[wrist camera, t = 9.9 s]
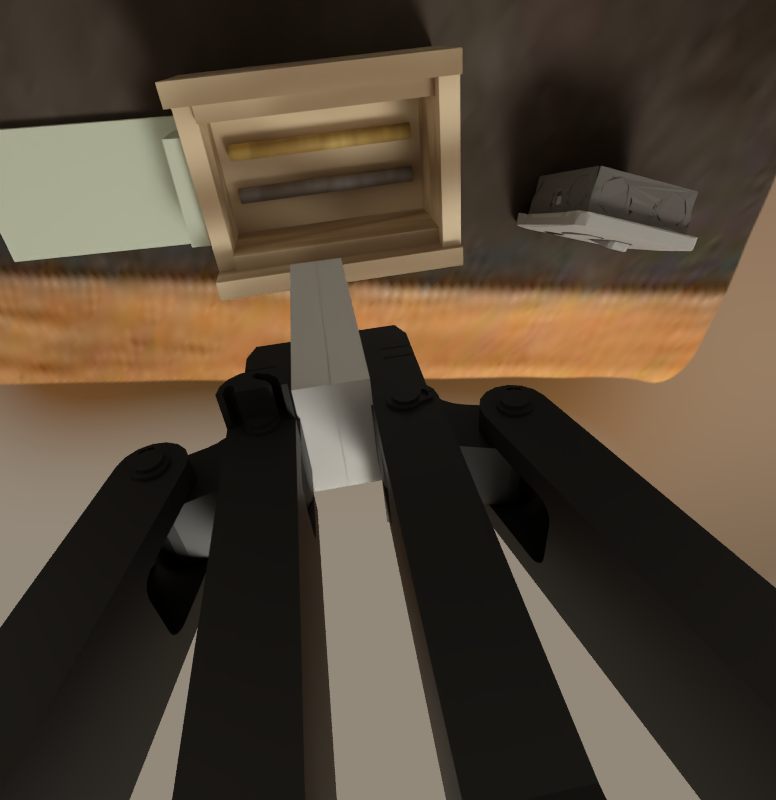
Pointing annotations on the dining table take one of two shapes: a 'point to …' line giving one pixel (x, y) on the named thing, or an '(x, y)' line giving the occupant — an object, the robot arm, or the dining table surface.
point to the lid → (96, 189)
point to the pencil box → (325, 164)
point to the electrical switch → (612, 210)
